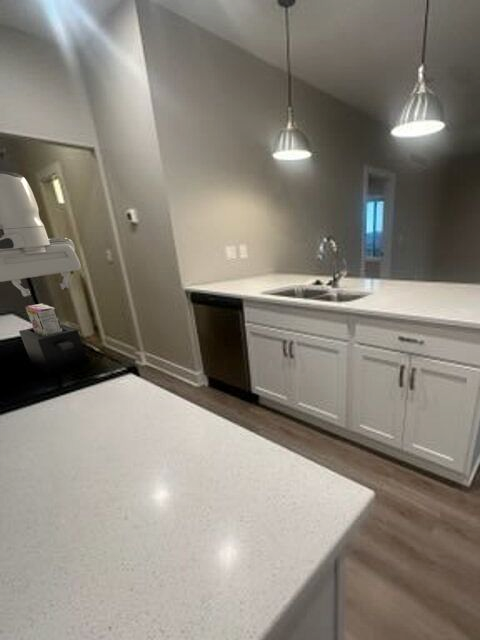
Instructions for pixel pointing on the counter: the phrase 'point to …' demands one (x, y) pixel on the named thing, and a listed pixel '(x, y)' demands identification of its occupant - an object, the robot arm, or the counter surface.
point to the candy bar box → (43, 319)
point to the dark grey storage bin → (54, 350)
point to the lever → (64, 345)
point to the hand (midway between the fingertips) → (47, 292)
